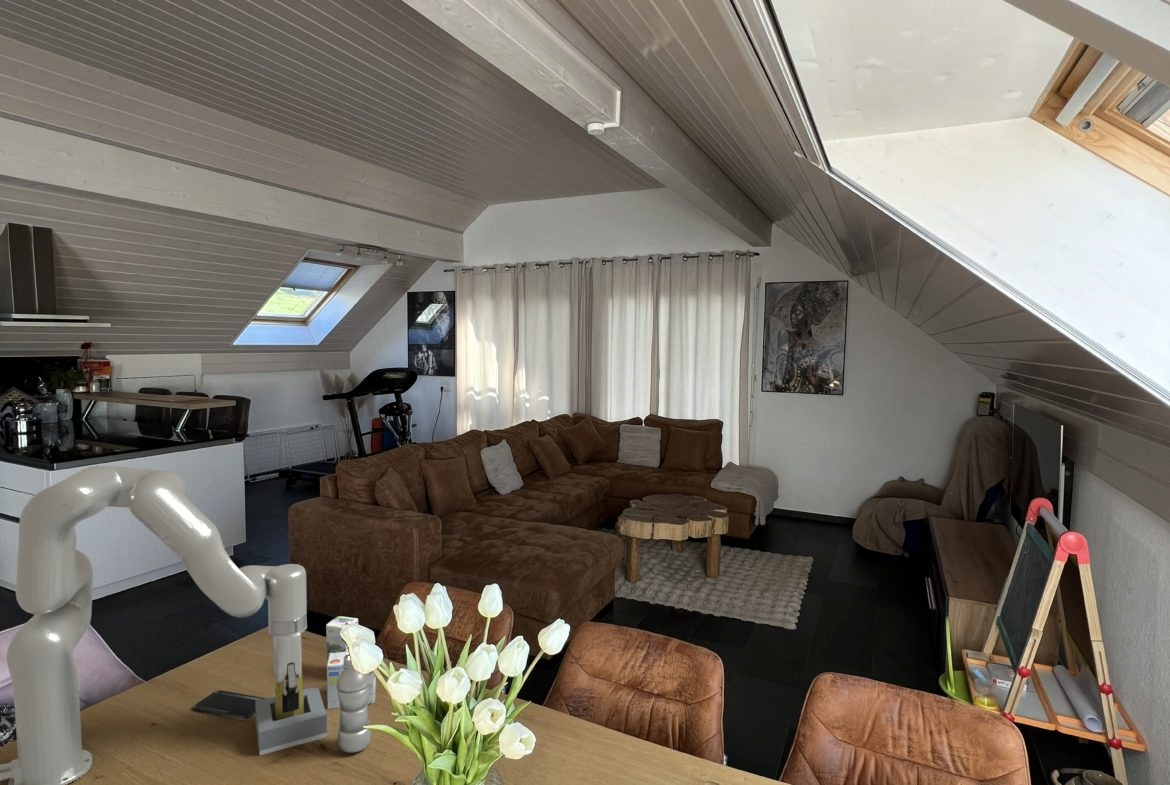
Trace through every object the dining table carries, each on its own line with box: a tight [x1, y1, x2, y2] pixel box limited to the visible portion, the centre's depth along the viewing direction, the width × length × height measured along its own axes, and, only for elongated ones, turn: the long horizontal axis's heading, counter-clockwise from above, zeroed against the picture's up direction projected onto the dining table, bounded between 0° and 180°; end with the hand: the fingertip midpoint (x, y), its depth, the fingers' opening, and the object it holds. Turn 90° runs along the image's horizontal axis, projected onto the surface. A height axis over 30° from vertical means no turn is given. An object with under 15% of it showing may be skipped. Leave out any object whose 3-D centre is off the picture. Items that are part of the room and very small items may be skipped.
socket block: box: [255, 685, 328, 756], centre depth 142 cm, size 13×13×5 cm
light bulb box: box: [326, 651, 377, 710], centre depth 154 cm, size 11×7×11 cm, turn 106°
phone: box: [193, 690, 266, 721], centre depth 150 cm, size 8×1×15 cm
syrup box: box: [325, 615, 359, 663], centre depth 164 cm, size 6×6×14 cm
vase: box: [274, 664, 304, 721], centre depth 141 cm, size 6×6×14 cm
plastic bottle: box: [336, 654, 372, 754], centre depth 136 cm, size 6×7×20 cm
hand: (289, 702), depth 141 cm, fingers open, 5 cm apart
